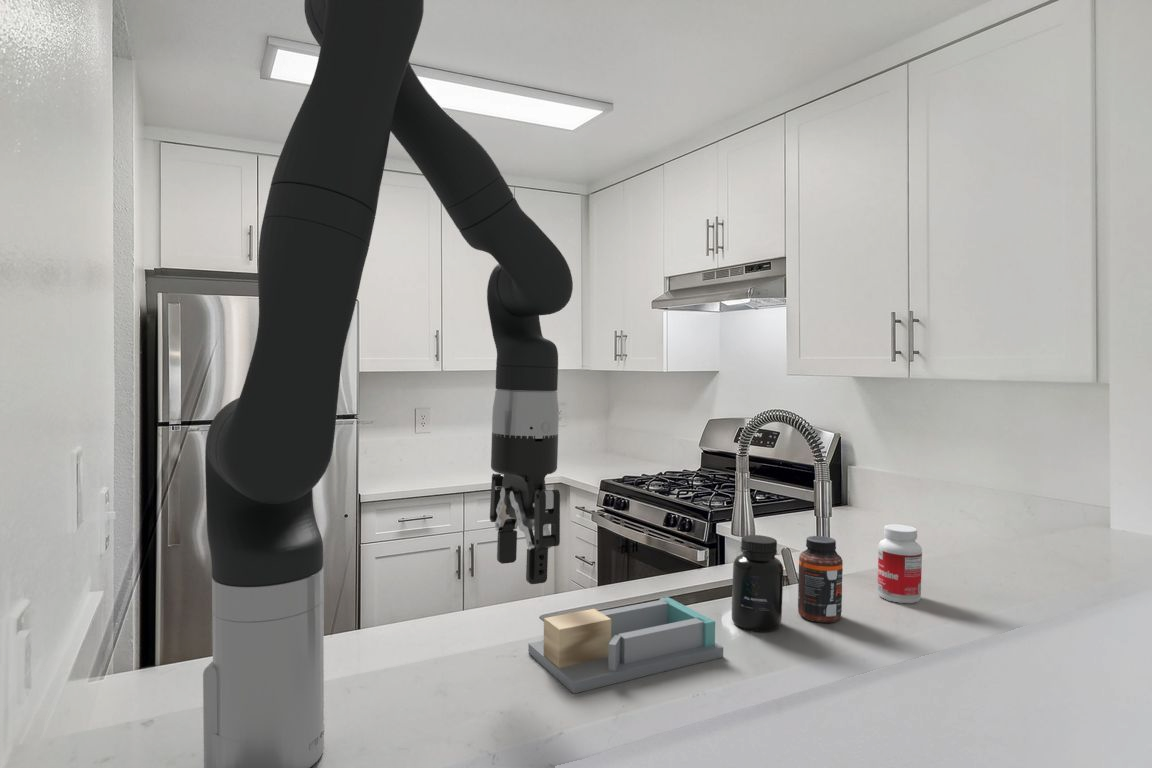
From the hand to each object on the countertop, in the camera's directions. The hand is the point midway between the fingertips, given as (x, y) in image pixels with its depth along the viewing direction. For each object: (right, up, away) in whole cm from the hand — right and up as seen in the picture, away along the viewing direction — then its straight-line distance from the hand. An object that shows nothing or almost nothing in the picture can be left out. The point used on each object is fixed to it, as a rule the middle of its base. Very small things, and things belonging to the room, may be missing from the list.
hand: (520, 572), depth 80 cm
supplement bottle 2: (+41, -12, +21) cm, 48 cm away
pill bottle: (+57, -12, +29) cm, 65 cm away
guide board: (+12, -12, +7) cm, 19 cm away
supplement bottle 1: (+32, -12, +18) cm, 38 cm away
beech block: (+6, -11, +4) cm, 13 cm away
